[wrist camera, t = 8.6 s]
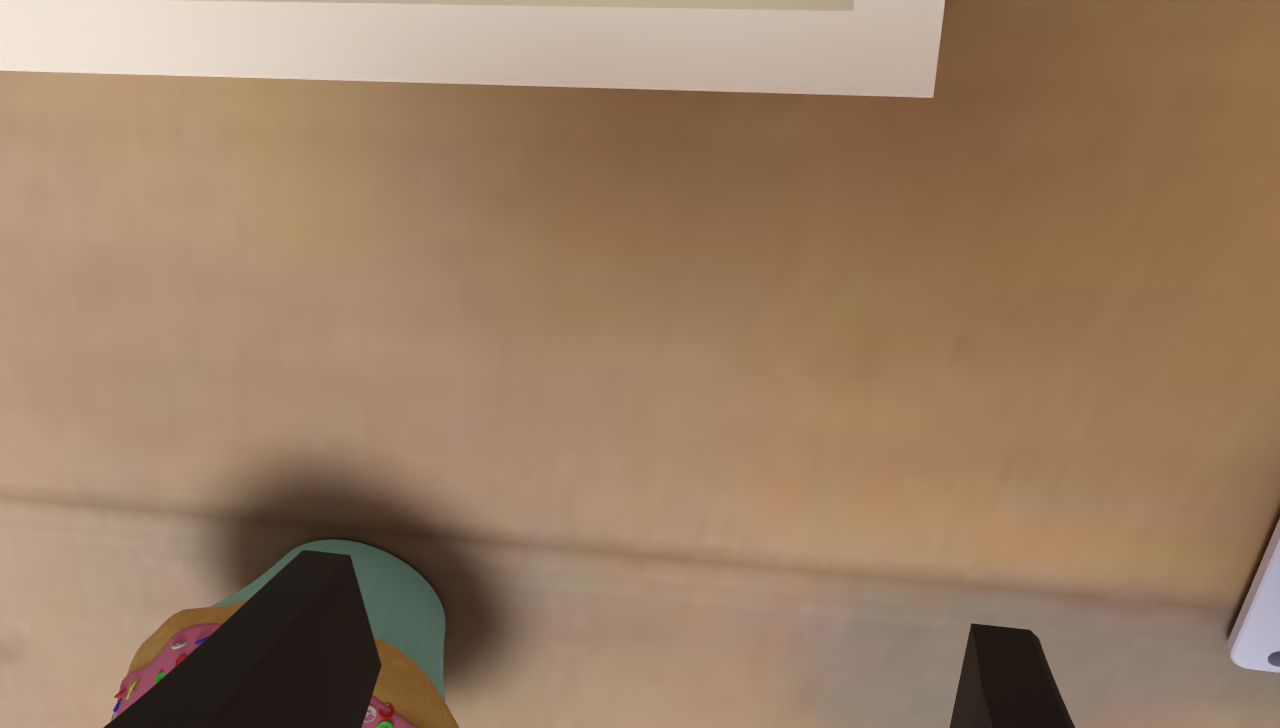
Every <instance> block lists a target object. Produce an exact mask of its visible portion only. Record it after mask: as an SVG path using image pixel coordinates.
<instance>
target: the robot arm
mask: <svg viewBox="0 0 1280 728" xmlns="http://www.w3.org/2000/svg"><path fill="white" fill-rule="evenodd" d="M1227 647H1228V651H1229V654H1230V657H1231V659H1232V660H1233V662H1234V663H1235V664H1237V665H1238V666H1240V667H1243V668H1247V669H1253V670H1262V671H1271V672H1280V652H1277V651H1280V519H1279V521H1278V523H1277V526H1276V528H1275V530H1274V533H1273V535H1272V538H1271V540H1270V542H1269V545H1268V547H1267V549H1266V552H1265V554H1264V556H1263V559H1262V561H1261V564H1260V566H1259V568H1258V571H1257V573H1256V575H1255V578H1254V580H1253V582H1252V585H1251V587H1250V589H1249V592H1248V594H1247V597H1246V599H1245V601H1244V604H1243V606H1242V608H1241V611H1240V613H1239V615H1238V618H1237V620H1236V623H1235V625H1234V627H1233V630H1232V632H1231V634H1230V637H1229V639H1228V644H1227ZM381 666H382V665H381V661H380V658H379V654H378V651H377V647H376V644H375V640H374V637H373V633H372V630H371V626H370V623H369V619H368V616H367V612H366V609H365V605H364V602H363V598H362V595H361V591H360V588H359V584H358V580H357V577H356V573H355V570H354V566H353V563H352V559H351V556H350V555H346V554H337V553H328V552H319V551H310V550H303V551H301V552H300V553H299V554H298V555H297V556H296V557H295V558H293V559H292V560H291V561H290V562H289V563H288V564H287V565H286V566H285V567H283V568H282V569H281V570H280V571H279V572H278V573H277V574H276V575H275V576H274V577H272V578H271V579H270V580H269V581H268V582H267V583H266V584H265V585H264V586H263V587H262V588H261V589H260V590H258V591H257V592H256V593H255V594H254V595H253V596H252V597H251V598H250V599H249V600H248V601H247V602H246V603H244V604H243V605H242V606H241V607H240V608H239V609H238V610H237V611H236V612H235V613H234V614H233V615H232V616H230V617H229V618H228V619H227V620H226V621H225V622H224V623H223V624H222V625H221V626H220V627H219V628H217V629H216V630H215V631H214V632H213V633H212V634H211V635H210V636H209V637H208V638H207V639H205V640H204V641H203V642H202V643H201V644H200V645H199V646H198V647H197V648H195V649H194V650H193V651H192V652H191V653H190V654H189V655H188V656H186V657H185V658H184V659H183V660H182V661H181V662H180V663H179V664H177V665H176V666H175V667H174V668H173V669H172V670H171V671H170V672H169V673H167V674H166V675H165V676H164V677H163V678H162V679H161V680H160V681H158V682H157V683H156V684H155V685H154V686H153V687H152V688H150V689H149V690H148V691H147V692H146V693H145V694H143V695H142V696H141V697H140V698H139V699H138V700H136V701H135V702H134V703H133V704H132V705H130V706H129V707H128V708H127V709H126V710H124V711H123V712H122V713H121V714H119V715H118V716H117V717H116V718H115V719H113V720H112V721H111V722H110V723H109V724H107V725H106V726H105V727H104V728H362V725H363V722H364V719H365V716H366V713H367V710H368V707H369V704H370V701H371V698H372V695H373V691H374V688H375V685H376V682H377V679H378V675H379V672H380V669H381ZM950 728H1075V726H1074V724H1073V722H1072V720H1071V718H1070V716H1069V713H1068V711H1067V709H1066V706H1065V704H1064V702H1063V700H1062V697H1061V695H1060V693H1059V690H1058V688H1057V685H1056V683H1055V680H1054V678H1053V675H1052V673H1051V670H1050V668H1049V665H1048V663H1047V660H1046V658H1045V655H1044V652H1043V649H1042V647H1041V644H1040V641H1039V638H1038V637H1037V636H1036V635H1035V634H1034V633H1033V632H1032V631H1031V630H1025V629H1016V628H1007V627H998V626H989V625H980V624H971V628H970V632H969V637H968V642H967V647H966V652H965V656H964V661H963V666H962V671H961V676H960V681H959V685H958V690H957V695H956V700H955V705H954V709H953V714H952V719H951V724H950Z"/></svg>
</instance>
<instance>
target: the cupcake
mask: <svg viewBox="0 0 1280 728" xmlns="http://www.w3.org/2000/svg"><path fill="white" fill-rule="evenodd" d="M303 550H310V551H319V552H328V553H337V554H346V555H350V556H351V559H352V563H353V566H354V570H355V573H356V577H357V580H358V584H359V588H360V591H361V595H362V598H363V602H364V605H365V609H366V612H367V616H368V619H369V623H370V626H371V630H372V633H373V637H374V640H375V644H376V647H377V651H378V654H379V658H380V661H381V665H382V666H381V669H380V672H379V675H378V679H377V682H376V685H375V688H374V691H373V695H372V698H371V701H370V704H369V707H368V710H367V713H366V716H365V719H364V722H363V725H362V728H459V727H458V725H457V723H456V721H455V719H454V717H453V715H452V714H451V712H450V710H449V708H448V706H447V705H446V703H445V693H444V669H443V658H444V637H445V626H446V621H445V614H444V610H443V606H442V604H441V601H440V599H439V597H438V596H437V594H436V592H435V591H434V589H433V588H432V587H431V586H430V584H429V583H428V582H427V581H426V580H425V579H424V578H423V577H422V576H421V575H420V574H419V573H418V572H417V571H416V570H415V569H413V568H412V567H411V566H409V565H408V564H407V563H405V562H404V561H402V560H400V559H399V558H397V557H395V556H393V555H392V554H390V553H388V552H385V551H383V550H381V549H378V548H376V547H373V546H370V545H366V544H363V543H359V542H354V541H348V540H338V539H328V540H318V541H313V542H309V543H306V544H303V545H301V546H298V547H296V548H295V549H293V550H291V551H290V552H289V553H287V554H286V555H285V556H284V557H283V558H282V559H281V560H279V561H278V562H277V563H276V564H275V565H274V566H273V567H271V568H270V569H269V570H268V571H267V572H265V573H264V574H263V575H262V576H260V577H259V578H258V579H256V580H255V581H253V582H252V583H251V584H249V585H248V586H246V587H245V588H243V589H241V590H240V591H238V592H236V593H235V594H233V595H231V596H230V597H228V598H226V599H224V600H222V601H221V602H219V603H217V604H215V605H213V606H211V607H207V608H196V609H186V610H182V611H180V612H178V613H176V614H174V615H173V616H171V617H170V618H169V619H168V620H167V621H165V622H164V623H163V624H162V625H161V626H160V628H159V629H158V630H157V631H156V632H155V633H154V634H152V635H151V636H150V637H149V638H148V639H147V640H146V641H145V642H144V643H143V644H142V645H141V647H140V648H139V649H138V651H137V653H136V654H135V656H134V658H133V660H132V662H131V664H130V667H129V670H128V673H127V676H126V677H125V678H124V680H123V681H122V683H121V686H120V690H119V693H118V694H117V695H115V698H117V697H118V700H117V704H116V706H115V708H114V710H113V711H114V713H113V715H112V718H111V721H112V720H113V719H115V718H116V717H117V716H118V715H119V714H121V713H122V712H123V711H124V710H126V709H127V708H128V707H129V706H130V705H132V704H133V703H134V702H135V701H136V700H138V699H139V698H140V697H141V696H142V695H143V694H145V693H146V692H147V691H148V690H149V689H150V688H152V687H153V686H154V685H155V684H156V683H157V682H158V681H160V680H161V679H162V678H163V677H164V676H165V675H166V674H167V673H169V672H170V671H171V670H172V669H173V668H174V667H175V666H176V665H177V664H179V663H180V662H181V661H182V660H183V659H184V658H185V657H186V656H188V655H189V654H190V653H191V652H192V651H193V650H194V649H195V648H197V647H198V646H199V645H200V644H201V643H202V642H203V641H204V640H205V639H207V638H208V637H209V636H210V635H211V634H212V633H213V632H214V631H215V630H216V629H217V628H219V627H220V626H221V625H222V624H223V623H224V622H225V621H226V620H227V619H228V618H229V617H230V616H232V615H233V614H234V613H235V612H236V611H237V610H238V609H239V608H240V607H241V606H242V605H243V604H244V603H246V602H247V601H248V600H249V599H250V598H251V597H252V596H253V595H254V594H255V593H256V592H257V591H258V590H260V589H261V588H262V587H263V586H264V585H265V584H266V583H267V582H268V581H269V580H270V579H271V578H272V577H274V576H275V575H276V574H277V573H278V572H279V571H280V570H281V569H282V568H283V567H285V566H286V565H287V564H288V563H289V562H290V561H291V560H292V559H293V558H295V557H296V556H297V555H298V554H299V553H300V552H301V551H303Z"/></svg>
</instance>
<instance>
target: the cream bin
mask: <svg viewBox="0 0 1280 728" xmlns="http://www.w3.org/2000/svg"><path fill="white" fill-rule="evenodd" d="M944 5H945V0H0V70H4V71H38V72H72V73H106V74H140V75H174V76H208V77H242V78H277V79H311V80H345V81H379V82H413V83H447V84H481V85H515V86H549V87H583V88H618V89H652V90H686V91H720V92H754V93H788V94H822V95H856V96H890V97H924V98H933V95H934V86H935V78H936V70H937V62H938V54H939V46H940V38H941V30H942V22H943V13H944Z"/></svg>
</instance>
